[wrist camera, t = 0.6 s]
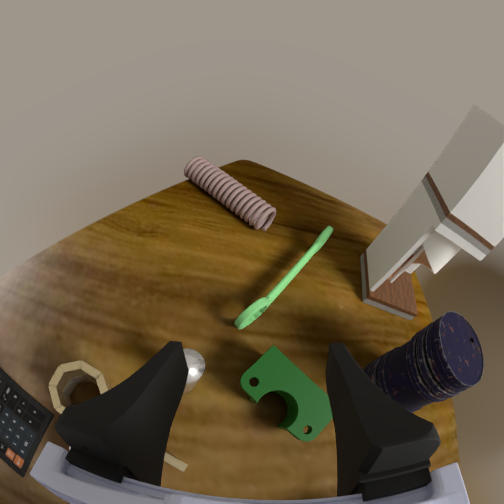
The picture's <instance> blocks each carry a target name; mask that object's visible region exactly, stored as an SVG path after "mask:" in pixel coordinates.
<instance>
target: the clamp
mask: <svg viewBox="0 0 504 504" xmlns="http://www.w3.org/2000/svg"><path fill="white" fill-rule="evenodd" d="M251 378H254V379H256V380H257V385H256V386H255V387H252V386H251V385H250V384H249V380H250V379H251ZM240 387H241V389H242V390H243V391H244V392H245V393H246V394H247V395H248V396H249V397H250V398H249V399H248V400H249V401H250V402H252V403H254V402H258V401H259V399H260V398H261V397H262V396H263V395H264V394H266V393H268V392H273V393H277V394H279V395H280V396H281V397H283V399H284V400H285V402H286V404H287V409H288V410H287V415H286V418H285V419H284V421H283V422H282V423H281V424H279V425H278V427H279V428H280V429H284V430H287V431H288V432H289V433H291V434H292V435H293V436H294V437H295V438H297V439H299V440H302V441H311V440H313V439H314V438H316V437H317V435H318V434H319V433H320V432H321V431H322V430H323V429H324V428H325V426H326V425H327V424H328V423H329V422H330V421H331V419H332V418H333V417H332V412H331V407H330V402H329V397H328V395H327V394H326V393H325V392H324V391H323V390H322V389H320V388H319V387H318V386H317V385H316V384H315V383H314V382H313V381H312V380H310V379H309V378H308V377H307V376H306V375H305V374H304V373H303V372H302V371H301V370H300V369H299V368H297V367H296V366H295V365H294V364H293V363H292V362H291V361H290V360H289V359H288V358H287V357H286V356H285V355H284V354H283V353H282V352H281V351H279V350H278V349H277V348H276V347H275V346H274V345H273V346H272V347H271V348H270V349H269V350H268V351H267V352H266V353H265V354H263V355H262V356H261V357H260V358H259V359H258V360H257V361H256V362H255V363H254V364H253V365H252V366H251V367H250V368H249V369H248V370H247V371H246V372H245V373H244V374H243V375H242V376H241V378H240ZM305 426H308V431H307V432H306V433H303V428H304V427H305Z"/></svg>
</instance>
